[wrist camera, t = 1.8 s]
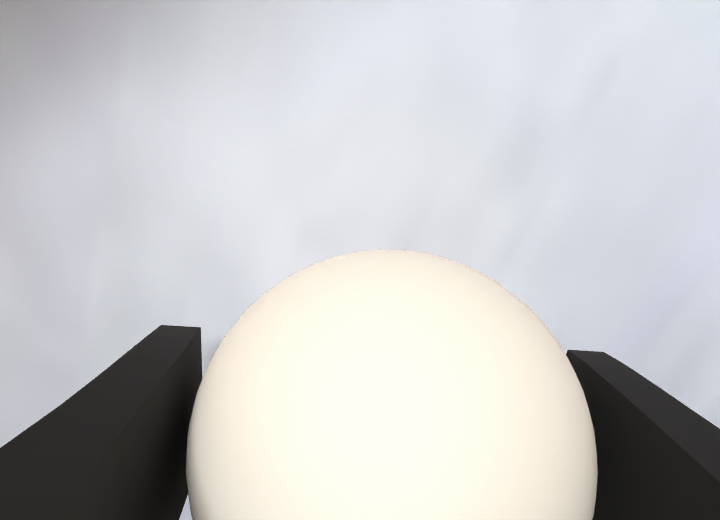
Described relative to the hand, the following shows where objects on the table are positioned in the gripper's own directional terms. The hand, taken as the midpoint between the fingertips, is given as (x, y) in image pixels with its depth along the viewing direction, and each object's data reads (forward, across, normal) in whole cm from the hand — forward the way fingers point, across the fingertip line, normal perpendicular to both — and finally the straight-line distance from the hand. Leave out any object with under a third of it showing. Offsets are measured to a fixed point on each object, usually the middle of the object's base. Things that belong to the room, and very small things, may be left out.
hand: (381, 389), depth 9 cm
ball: (-1, 0, 0) cm, 1 cm away
